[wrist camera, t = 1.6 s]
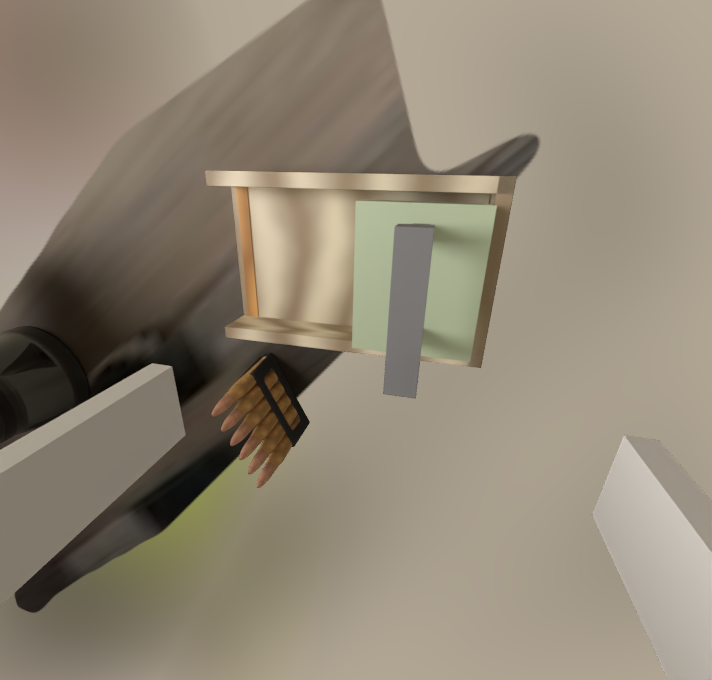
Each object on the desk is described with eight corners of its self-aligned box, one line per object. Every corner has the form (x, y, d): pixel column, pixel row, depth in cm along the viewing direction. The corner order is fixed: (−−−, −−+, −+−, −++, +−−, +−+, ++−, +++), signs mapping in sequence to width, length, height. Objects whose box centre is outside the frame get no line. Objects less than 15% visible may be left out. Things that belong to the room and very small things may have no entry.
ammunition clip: (259, 356, 44) (199, 410, 33) (271, 352, 43) (214, 405, 32) (298, 426, 46) (255, 496, 35) (310, 422, 46) (269, 493, 35)
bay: (250, 321, 42) (226, 337, 37) (236, 174, 36) (205, 170, 31) (475, 345, 37) (480, 367, 32) (505, 179, 31) (516, 176, 26)
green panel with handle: (367, 321, 37) (322, 398, 23) (372, 199, 32) (319, 202, 18) (464, 331, 35) (480, 422, 21) (485, 203, 30) (523, 209, 16)
